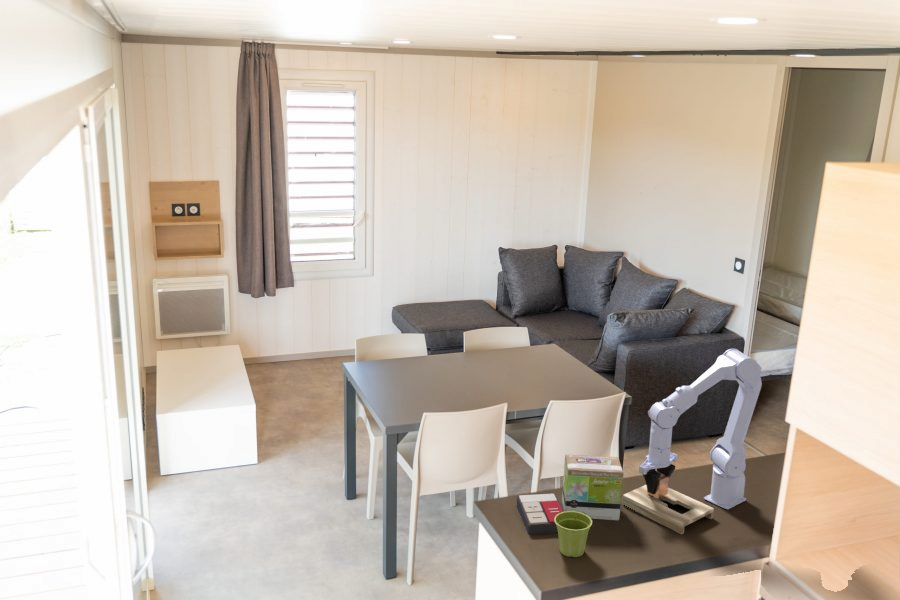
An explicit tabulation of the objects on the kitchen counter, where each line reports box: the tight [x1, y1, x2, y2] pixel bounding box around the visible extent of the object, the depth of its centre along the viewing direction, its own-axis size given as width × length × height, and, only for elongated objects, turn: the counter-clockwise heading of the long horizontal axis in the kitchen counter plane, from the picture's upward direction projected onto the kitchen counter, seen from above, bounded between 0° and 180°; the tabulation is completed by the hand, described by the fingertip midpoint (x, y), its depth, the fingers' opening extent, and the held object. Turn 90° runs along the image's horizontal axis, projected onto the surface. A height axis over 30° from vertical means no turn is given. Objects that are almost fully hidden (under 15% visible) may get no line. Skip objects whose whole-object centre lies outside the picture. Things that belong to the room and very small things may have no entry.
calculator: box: [516, 493, 564, 535], centre depth 216 cm, size 11×4×15 cm
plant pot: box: [554, 511, 593, 558], centre depth 200 cm, size 9×9×9 cm
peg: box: [647, 470, 670, 504], centre depth 222 cm, size 4×4×9 cm
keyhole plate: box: [621, 484, 715, 535], centre depth 220 cm, size 14×20×3 cm
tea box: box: [561, 454, 624, 522], centre depth 219 cm, size 15×10×15 cm
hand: (656, 490), depth 223 cm, fingers closed on peg, 4 cm apart
